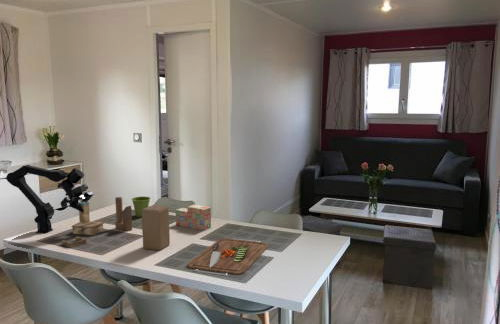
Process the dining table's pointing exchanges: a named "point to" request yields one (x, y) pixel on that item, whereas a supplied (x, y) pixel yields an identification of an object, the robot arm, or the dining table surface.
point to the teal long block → (84, 213)
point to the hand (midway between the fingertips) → (86, 211)
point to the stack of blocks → (194, 217)
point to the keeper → (78, 242)
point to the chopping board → (228, 256)
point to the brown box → (88, 228)
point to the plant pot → (140, 204)
